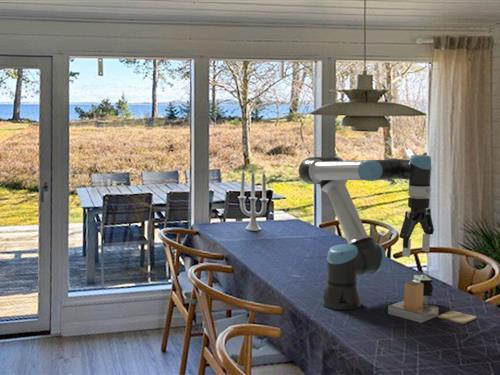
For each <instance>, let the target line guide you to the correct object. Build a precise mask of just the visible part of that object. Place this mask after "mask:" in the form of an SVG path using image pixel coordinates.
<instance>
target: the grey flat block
mask: <svg viewBox="0 0 500 375" xmlns="http://www.w3.org/2000/svg"><path fill="white" fill-rule="evenodd" d="M439 310H440V309H439V306H435V305H431V304H428V303H427V304H424V303H423V308H422V309H419V310H417V311H416V310H412V309H408V308H404V300H401V301H398V302H396V303H392V304H388V308H387V314H388V315H391V316H395V317H399V318H403V319H406V320H409V321H412V322H417V323H419V324H421V323H424V322H426V321H429V320H431V319H434V318H436V317H438V316H439Z"/></svg>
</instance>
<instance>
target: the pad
mask: <svg viewBox="0 0 500 375" xmlns="http://www.w3.org/2000/svg"><path fill="white" fill-rule="evenodd" d="M437 318H439V319H441V320H442V319H443V320H446V321H449V322H454V323H457V324H462V325H465V324H467V323H469V322H471V321H473V320H476V319H477V318H478V317H477V316H475V315H472V314H467V313H464V312H460V311H456V310H449V311H446V312H444V313H442V314H438V316H437Z"/></svg>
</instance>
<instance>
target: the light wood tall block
mask: <svg viewBox="0 0 500 375" xmlns="http://www.w3.org/2000/svg"><path fill="white" fill-rule="evenodd" d="M423 287H424V284H422V283H418V282H413V281H412V280H411V281H408V282H405V283H404V292H403V301H404V308H408V309H412V310H416V311H417V310H419V309H422V308H423Z"/></svg>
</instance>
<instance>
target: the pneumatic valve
mask: <svg viewBox="0 0 500 375" xmlns="http://www.w3.org/2000/svg"><path fill="white" fill-rule="evenodd" d="M411 281H413V282H418V283H422V284H424V287H423V303H424V304H428V299H429V298H428V297H432V296H433V291H434V287H433V279H431V278H430V277H428V276H427V275H426V274H413V279H411Z"/></svg>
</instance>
